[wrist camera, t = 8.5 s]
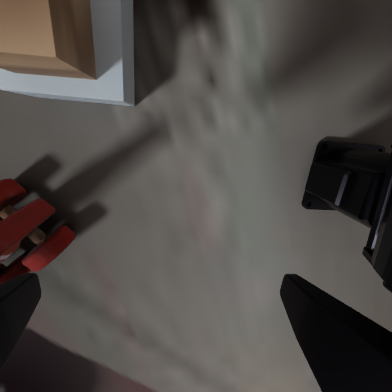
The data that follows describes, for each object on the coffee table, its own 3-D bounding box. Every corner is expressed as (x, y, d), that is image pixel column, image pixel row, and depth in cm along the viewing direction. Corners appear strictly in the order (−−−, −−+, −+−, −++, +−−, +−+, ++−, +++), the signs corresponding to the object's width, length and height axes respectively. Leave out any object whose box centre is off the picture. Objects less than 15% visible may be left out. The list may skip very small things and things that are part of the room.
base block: (133, -2, 14) (119, -47, 11) (135, 106, 17) (123, 101, 13) (25, -19, 14) (-33, -73, 10) (41, 97, 16) (0, 89, 12)
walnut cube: (96, 79, 12) (56, 57, 8) (15, 73, 12) (-73, 45, 8) (88, -16, 11) (34, -104, 7) (-5, -28, 10) (-127, -132, 6)
